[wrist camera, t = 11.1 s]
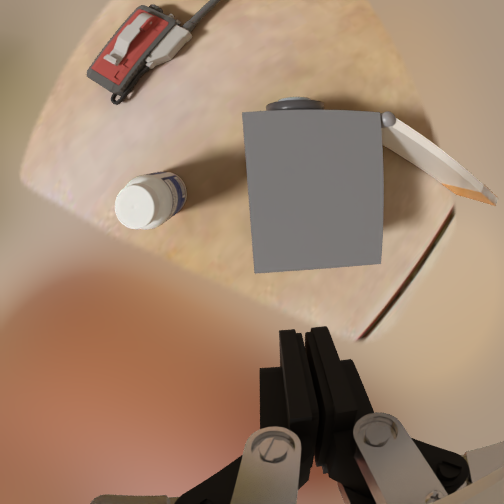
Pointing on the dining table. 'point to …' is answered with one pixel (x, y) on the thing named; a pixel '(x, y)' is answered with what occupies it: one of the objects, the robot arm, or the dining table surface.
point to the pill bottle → (150, 200)
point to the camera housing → (314, 186)
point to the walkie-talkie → (141, 47)
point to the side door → (432, 160)
